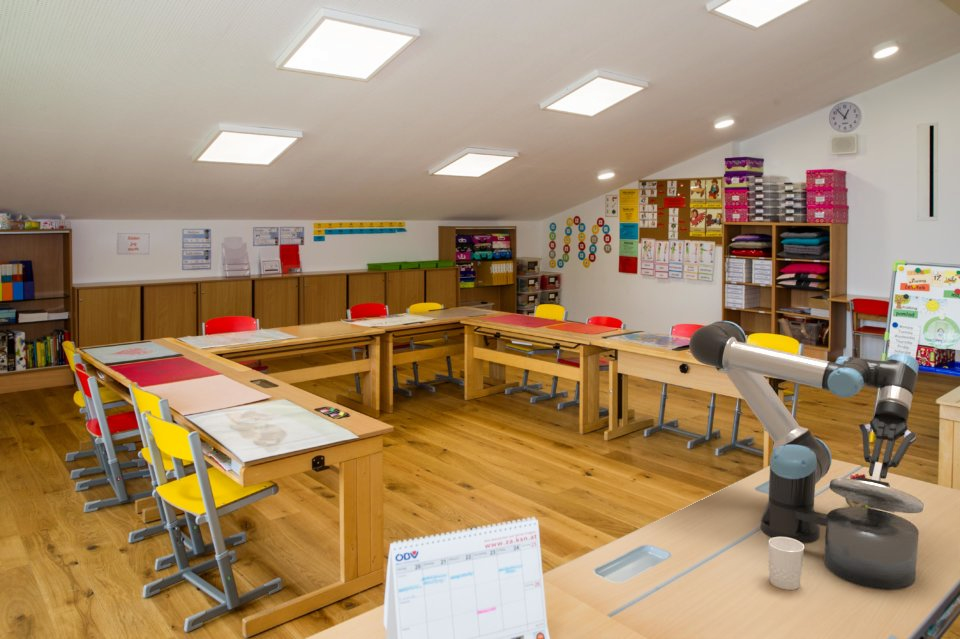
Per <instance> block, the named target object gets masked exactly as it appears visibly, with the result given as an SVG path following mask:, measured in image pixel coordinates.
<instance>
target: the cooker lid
mask: <svg viewBox="0 0 960 639" xmlns="http://www.w3.org/2000/svg"><path fill="white" fill-rule="evenodd" d="M828 488H829V489H830V490H831V491H832V492H833V493H835V494H836V495H838V496H840V497H842V498H844V499H845V498H847V499H849V500H852V501H855V502H858V503H861V504H863V505H867V506H868V507H870V509H876V510H880V511H884V512H888V513H892V514H894V513H903V514H919V513H921V512H923V511H924V506H925V504H924V502H923V501H922V500H921V499H919V498H918V497H916V496H914V495H912V494H909V493H907V492H905V491H902V490H900V489H897V488H894V487H891V485H890V483H889V482H887V481H882V480H881V481H877V480H872V478H868V479H867V477H866V478H862V477H857V476H856V480H855V479H851V478H834V479H831V480H830V482H829V486H828Z"/></svg>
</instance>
